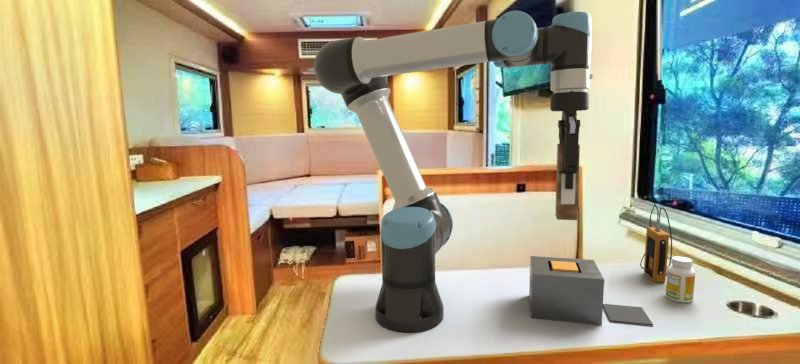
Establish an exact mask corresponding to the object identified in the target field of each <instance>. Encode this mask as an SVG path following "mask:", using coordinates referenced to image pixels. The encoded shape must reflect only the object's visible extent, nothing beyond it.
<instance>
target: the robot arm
mask: <svg viewBox="0 0 800 364" xmlns="http://www.w3.org/2000/svg"><path fill="white" fill-rule="evenodd" d="M551 21H552V22H551V25H549V26H544V27H537V24H536V22H535V20H534V19H533V18H532V16H531V15H529V14H528V13H526V12H525V11H522V10H510V11H507V12H505V13H504V14H502V15H501V16H499V18H494V19H493V18H492V19H489V20H482V21H476V22H471V23H466V24H460V25H459V24H458V25H453V26H447V27H442V28H435V29H430V30H424V31H419V32H418V31H417V32H411V33H405V34H399V35H398V34H397V35H393V36H388V37H387V36H386V37H382V38H375V39H371V40H366V39H364V37H361V36H356V37H355V36H354V37H349V38H343V39H337V40H332V41H329V42H327V43H325V44H324V45H323V46H321V48H320V49H319V50H318V51H317V53H316V56H315V59H314V64H313V65H314V66H313V68H314V69H313V70H314V74H315V77H316V79H317V81H318V82H319V84H320V86H322V87H323V88H324V89H325V90H327V91H329V92H331V93H334V94H337V95H339V94H340V95H341V98H342V99H343V101H344V104H345V105H346V108H347V110H348V111H349V112H353V113H355V114H356V116H357V118H358V121H359V122H360V125H361V127H362V130H363V132H364V134H365V136H366V139H367V141H368V143H369V145H370V147H371V149H372V151H373V152H372V153H373V154H374V157H375V158H376V161H377V162H378V166H379V167H380V170H381V172H382V175H383V177H384V179H385V182H386V183H387V186H388V188H389V190H390V192H391V195H392V197H393V199H394V204H393V207H392V209H391V210H390V211H388V212H387V213H385V215H383V217H382V219H381V221H380V231H379V235H380V247H381V248H380V249H381V253H380V255H381V272H382V273H381V274H382V275H381V277H382V281H381V282H382V284H381V287H380V290H379V293H378V297H377V301H376V304H375V308H374V310H375V313H374V314H375V316H374V317H375V320H376V322H377V323H378V324H379V325H380V326H381V327H383V328H385V329H387V330H391V331H393V332H401V333H419V332H423V331H427V330H430V329H433V328H436V327H437V326H438V325H440V324H441V323H442V322H443V319H444V317H445V316H444V304H443V300H442V298H441V296H440V293H439V290H438V286H437V284H436V254H437V253H438V252H439V251H440V250H441V249H442V247H444V246H445V245H446V243H447V242H448V241H449V240H450V237H451V235H452V232H453V228H454V219H453V216H452V213H451V212H450V210H449V209H448V207H447V206H446V205H444V204H443V203H442V202H441V201H440V198H439V196H438V195H437V192H436V191H435V190H434V189H431V188H429V187H427V185H426V183H425V180H424V178H423V176H422V173H421V171H420V169H419V167H418V164H417V162H416V160H415V157H414V156H413V153H412V151H411V148H410V146H409V144H408V142H407V140H406V137H405V135H404V132H403V130H402V128H401V126H400V124H399V122H398V119H397V117H396V115H395V112H394V110H393V107H392V106H391V103H390V101H389V97H390V95H391V94H390V93H391V88H390V86H389V84H388V81H387V80H388V77H389V76H395V75H396V76H397V75H402V74H411V73H417V72H424V71H431V70H439V69H445V68H446V69H447V68H453V67H454V68H455V67H460V66H461V67H462V66H468V65H474V64H482V63H491V62H493V65H494V66H495V67H496V68H508V69H511V68H515V67H516V68H517V67H526V66H527V67H528V66H537V65H538V66H539V65H543V66H545V65H550V66H551V67H550V68H551V71H550V91H551V92H553V93H551V95H550V106H549V109H550V111H551V112H561V119H560V120H559V119H558V121H557V127H558V139H559V140H558V141H559V142H558V144H563V170H560V171H559V174H562V177H561V204H575V185H576V172H577V171H578V144H579V142H580V141H579V138H580V136H579V135H580V127H581V119H578V117H577V116H578V113H577V112H578V111H579V112H580V111H581V112H582V111H587V110H589V108H590V93H589V92H588V89H590V83H591V82H590V80H592V79H594V74H591V72H590V71H591V60H592V59H591V58H592V42H593V41H592V40H593V39H592V37H593V34H592V33H593V32H592V16H591V15H590V13H588V12H585V11H569V12H565V13H560V14H557V15H555V16H554V17H553V18H552V20H551Z"/></svg>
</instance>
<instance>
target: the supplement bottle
mask: <svg viewBox="0 0 800 364" xmlns="http://www.w3.org/2000/svg"><path fill="white" fill-rule="evenodd" d="M692 266H693V259H691V258H689V257H687V256H686V257H684V256H679V255H678V256H677V255H676V256H672V257H671V264H670V266H669V265H668V267H667V269H666V275H667V276H666V285H665V287H666V288H665V296H666V297H667V299H669V300H672V301H673V302H677V303H687V304H688V303H691V302H693V300H694V292H695V291H694V290H695V282H696V281H695V279H696V271H695V269H694V268H692Z"/></svg>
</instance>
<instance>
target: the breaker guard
mask: <svg viewBox="0 0 800 364" xmlns="http://www.w3.org/2000/svg"><path fill="white" fill-rule="evenodd" d="M529 259H530V260H529V262H530V263H529V293H528V295H529V305H530V307H529V309H530V319H538V320H546V321H558V322H565V323H566V322H567V323H577V324H578V323H579V324H585V325H586V324H587V325H595V326H603V310H604V307H603V304H604V292H605V291H604V290H605V278H604V276H603V274H602V273H601V271H600V269H599V267H598V264H596V261H595V260H594V259H586V258H585V259H583V258H582V259H580V258H570V257H569V258H568V257H567V258H566V257H555V256H554V257H552V256H537V255H535V256H534V255H530V257H529ZM551 261H562V262H575V263H576V265H577V268H578V270H579V273H574V272H560V271H551Z"/></svg>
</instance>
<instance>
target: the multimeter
mask: <svg viewBox="0 0 800 364" xmlns="http://www.w3.org/2000/svg"><path fill="white" fill-rule="evenodd" d="M655 208H656V210H657V213H656V215H657V218H656V222H655V223H656V224H655V226H654V227H652V223H651V221H652V220H651V219H652V214H653V211H654V209H655ZM662 209H663V211H664V213H665V216H666V218H667V223H668V227H669V233H668V232H666V231H664V230H662V229H661V225H660V224H661V210H662ZM645 235H646V236H645V247H644V248H645V249H644V250H645V251H644V254H643V256H642V258H641V260H640V264H639V266H640V268H641V269H643V273H644V274H645V275H646V276H647V277H649V278H650V279H651V281H652V282H653V283H665V282H667V269H668V267H669V266H671V265H672V257H673V256H672V254H673V237H672V228H671V225H670V219H669V215H668V212H667V211H666V209H665V208H664V207H660V208H658V207H657V205H656V203H654V204H653V207H652V209H651V211H650V216H649V226H648V227H646V234H645ZM669 239H670V240H669ZM669 243H670V255H669V264H668V254H669V252H668V251H669ZM643 260H644V263H643ZM642 263H643V266H642ZM667 266H668V267H667Z"/></svg>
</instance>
